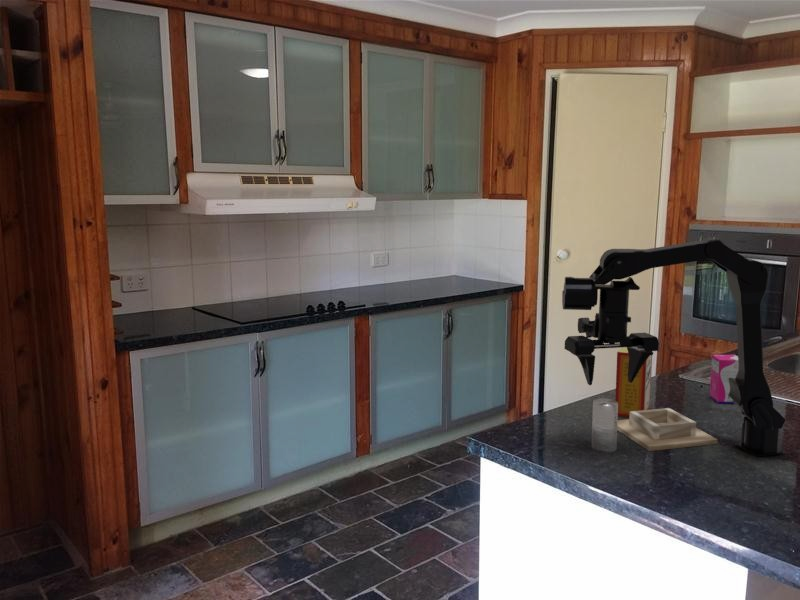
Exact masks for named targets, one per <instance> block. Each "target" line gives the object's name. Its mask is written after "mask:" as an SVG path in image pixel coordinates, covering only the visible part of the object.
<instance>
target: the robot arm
mask: <svg viewBox="0 0 800 600" xmlns="http://www.w3.org/2000/svg"><path fill="white" fill-rule="evenodd" d="M707 260H709V261H710V262H711V263H713V264H714V265H715V266H716V267H717V268H719V269H721V270H722V271H724V272H725V275H726V278H727V282H728V288H729V290H730V293H731V295H732V298H733V300H734V302H735V312H736V313H735V314H736V316H735V317H736V335H737V336H736V338H737V340H736V341H737V357H738V364H739V370H738V373H737V376H736V378H729V385H730V392H729V396H730V397H731V398H732V399H733V402H734V403H735V404H734V405H736V407H737V408H738V409H739V410H740V412H741V415H743V422H742V427H741V428H742V430H741V442H735V446H736V447H738V448H739V449H741V450H744V451H745V452H747V453H749V454H750V455H753V456H755V457H764V456H765V457H767V456H776V455H783V454H784V450H782V449H780V448H778V445H779V444H778V443H779V431H780V429H783V426H784V424H785V422H786V418H785V417H784V416H782V414H780V412H779V411H778V410H777V409H776V408H774V401H773V397H772V392H771V388H770V386H769V383H768V381H767V378H766V375H765V374H764V373H765V371H764V356H763V355H764V353H763V352H764V351H763V330H762V328H763V326H762V307H761V306H762V303H763V300H764V298H765V295H766V293H767V289H768V288H767V287H768V281H769V271H768V267H767V266H766V265H765V264H763V263H762V262H761V261H758V260H754V259H752V258H748V257H744V256H743V255H741V254H740V253H738V252H737V251H735V250H733V249H731V247H729V246H727V245H726V244H724V242H723V241H721V239H718V238H717V239H716V238H713V237H712V238H711V237H706V238H704V239H702V240H695V241H691V242H690V241H689V242H684V243H678V244H671V245H664V246H659V247H652V248H647V249H646V248H645V249H643V248H642V249H637V248H610V249H608V250H606V251H604V252H603V254H602V255H601V256H600V259H599V265H598V266H597V267H596V268H595V269H594V270H593V272H591V274H590V276H589V277H574V276H565V277H564V284H563V290H561V291H562V293H561V295H562V297H561V298H562V299H561V302H562V303H561V304H562V310H566V311H567V310H570V311H571V310H573V311H577V310H579V311H591V310H592V308H594V307H595V306H597V304H598V305H599V307H598V312H596V313H595V316H594V320H590V318H589V317H579V318H577V320H578V321H577V331H578V334H585V335H571V336H567V338H566V339H565V341H564V350H566V351H568V352H570V353H571V354H572V355H574V356H576V357H577V359H578V360H579V363H580V364H581V368H582V370H583V373H584V377H585V380H586V383H587V385H588V386H592V384H593V381H594V372H595V363H596V362H595V361H596V355H595V354H593V353H594V352H595V350H599V349H617V348H618V349H619V348H622V347H627V350H628V353H629V365H628V382H630V383H632V382H633V380H634V379H635V377H636V375H637V373H638V372H639V370H640V368H641V367H642V365H643V364H644V362H645V361H646V360H647V358H648V357H649V356H650V355H652V356H653V355H654V352H658V351H660V344H661V342H660V341H659V338H658V336H656V335H653V334H650V333H647V332H631V333H630V334H628V323H632V317H631V316H629V304H630V303H629V301H630V299H629V298H630V291H639V290H640V289H641V287H640V285H638V284H637V283H636V282H635V281H634V279H633V278H632V277H633V276H635V275H638V274H641V273H643V272H645V271H647V270H651V269H654V268H655V269H656V268H661V267H666V266H667V267H668V266H669V267H670V266H674V265H680V264H681V265H682V264H687V263H692V262H693V263H694V262H699V261H707ZM623 279H625V280H623ZM598 291H599V294H598ZM598 296H599V297H598ZM598 298H599V299H598ZM598 300H599V303H598ZM591 338H594V339H591ZM596 338H597V339H596Z"/></svg>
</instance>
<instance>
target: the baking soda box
mask: <svg viewBox="0 0 800 600" xmlns="http://www.w3.org/2000/svg"><path fill="white" fill-rule="evenodd" d="M628 365H629V353H628V350H627V347H620V349H619V350H618V351H617V352H616V372H615V373H616V375H615V376H616V377H615V399H614V400H615V401H617V402H618V417H623V418H629V415H630V411H641V410H650V408H651V392H652V391H651V390H652V389H651V386H652V368H653V367H652V365H653V355H650V356H649V357H648V358H647V360H646V361H645V362H644V364H643V365H642V367H641V368H640V370H639V372H638V373H637V375H636V377H635V379H634V380H633V382H632V383H630V382H628Z"/></svg>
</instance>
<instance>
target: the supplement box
mask: <svg viewBox="0 0 800 600" xmlns="http://www.w3.org/2000/svg"><path fill="white" fill-rule="evenodd" d="M710 363H711V364H710V367H711V368H710V388H709V389H710V390H709V398H711V399H712V400H713V401H714V402H715V403H717V404H719V405H720V404H721V405H722V404H723V405H724V404H728V405H729V404H730V405H732V404H733V405H735V403H734V402H733V399H732V398H731V397H730V396H729V392H730V385H729V378H736V376H737V373H738V370H739V364H738V355H736V354H711V362H710Z"/></svg>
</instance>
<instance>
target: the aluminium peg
mask: <svg viewBox="0 0 800 600" xmlns="http://www.w3.org/2000/svg"><path fill="white" fill-rule="evenodd" d="M618 420H619V416H618V402H617V401H615V399H610V398H596V399H593V401H592V420H591V421H592V424H591V425H592V426H591V429H592V430H591V448H592V447H593V448H594V449H596V450H599V451H605V452H604V453H613V452H612V451H614V452H616V451H617V444H618V443H617V442H618V430H617V421H618ZM593 448H592V449H593ZM594 449H593V450H594ZM596 450H595V451H596ZM615 450H616V451H615ZM599 451H598V452H599Z"/></svg>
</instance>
